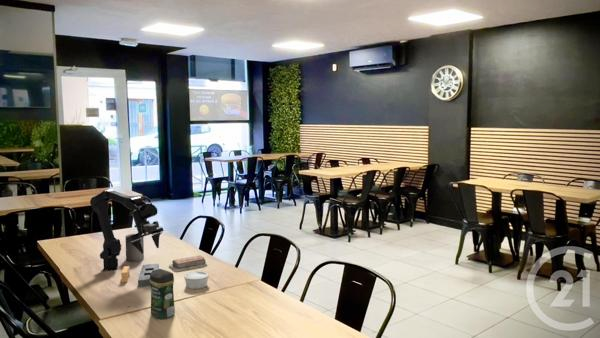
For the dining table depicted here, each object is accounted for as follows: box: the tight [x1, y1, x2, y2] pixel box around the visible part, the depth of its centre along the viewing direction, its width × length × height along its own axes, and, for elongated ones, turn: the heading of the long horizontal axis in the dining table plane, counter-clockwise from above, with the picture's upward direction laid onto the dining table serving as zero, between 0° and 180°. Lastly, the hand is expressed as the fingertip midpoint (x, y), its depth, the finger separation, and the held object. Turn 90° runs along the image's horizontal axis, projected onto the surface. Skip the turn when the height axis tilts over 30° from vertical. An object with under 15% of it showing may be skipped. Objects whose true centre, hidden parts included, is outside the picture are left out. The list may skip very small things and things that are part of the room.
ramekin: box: [183, 271, 209, 290], centre depth 221 cm, size 11×11×5 cm
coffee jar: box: [150, 268, 176, 320], centre depth 187 cm, size 10×8×19 cm
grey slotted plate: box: [137, 263, 160, 287], centre depth 232 cm, size 24×8×3 cm, turn 13°
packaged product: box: [168, 255, 208, 273], centre depth 250 cm, size 18×5×10 cm
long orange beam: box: [121, 265, 130, 283], centre depth 230 cm, size 2×10×5 cm, turn 14°
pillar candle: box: [125, 233, 145, 263], centre depth 261 cm, size 10×10×15 cm
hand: (150, 250), depth 233 cm, fingers open, 9 cm apart
